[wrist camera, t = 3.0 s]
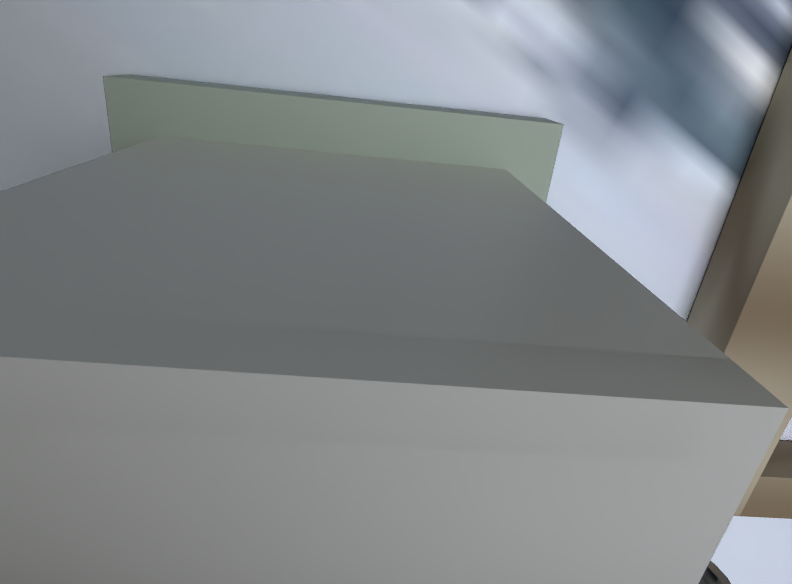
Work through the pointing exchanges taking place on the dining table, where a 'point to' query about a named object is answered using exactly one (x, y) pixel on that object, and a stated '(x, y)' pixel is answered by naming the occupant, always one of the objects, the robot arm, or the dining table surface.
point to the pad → (330, 125)
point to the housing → (346, 382)
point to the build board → (759, 291)
